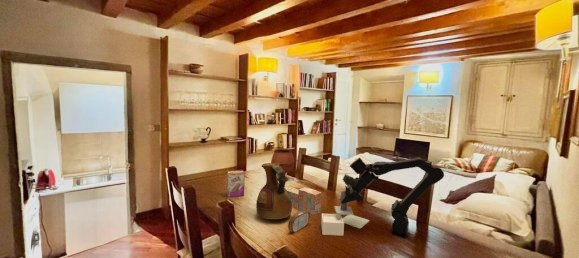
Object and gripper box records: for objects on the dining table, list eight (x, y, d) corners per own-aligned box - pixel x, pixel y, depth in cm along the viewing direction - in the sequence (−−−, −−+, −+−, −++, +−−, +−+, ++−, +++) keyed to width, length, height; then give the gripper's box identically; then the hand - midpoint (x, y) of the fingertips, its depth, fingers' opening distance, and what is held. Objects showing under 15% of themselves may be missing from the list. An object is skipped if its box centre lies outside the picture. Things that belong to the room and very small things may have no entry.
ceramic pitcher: (275, 206, 156) (276, 158, 154) (299, 217, 142) (301, 164, 139) (248, 215, 143) (249, 162, 140) (272, 228, 128) (273, 169, 126)
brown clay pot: (268, 182, 203) (268, 151, 201) (273, 176, 222) (274, 147, 220) (292, 184, 200) (292, 152, 198) (295, 177, 219) (296, 148, 217)
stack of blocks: (286, 205, 159) (287, 185, 158) (293, 202, 164) (293, 183, 163) (314, 215, 145) (315, 194, 144) (320, 212, 150) (321, 191, 149)
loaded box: (340, 225, 133) (341, 214, 132) (343, 235, 123) (344, 223, 122) (321, 224, 134) (321, 213, 133) (322, 234, 124) (322, 222, 123)
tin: (305, 222, 136) (305, 207, 135) (310, 224, 134) (310, 209, 133) (287, 233, 124) (287, 216, 123) (292, 235, 122) (292, 218, 121)
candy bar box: (227, 197, 169) (227, 173, 167) (226, 195, 174) (226, 171, 172) (244, 196, 172) (244, 172, 171) (243, 193, 177) (243, 170, 176)
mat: (369, 220, 140) (369, 220, 140) (360, 228, 130) (360, 228, 130) (349, 214, 147) (349, 213, 147) (339, 221, 138) (339, 220, 138)
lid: (350, 208, 136) (350, 189, 135) (353, 214, 128) (353, 195, 127) (334, 207, 136) (334, 189, 135) (336, 214, 128) (337, 194, 127)
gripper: (349, 165, 139) (328, 185, 140) (356, 174, 120) (332, 197, 122) (363, 180, 139) (342, 199, 141) (373, 191, 121) (348, 213, 122)
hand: (341, 201), depth 131 cm, fingers closed on lid, 3 cm apart
